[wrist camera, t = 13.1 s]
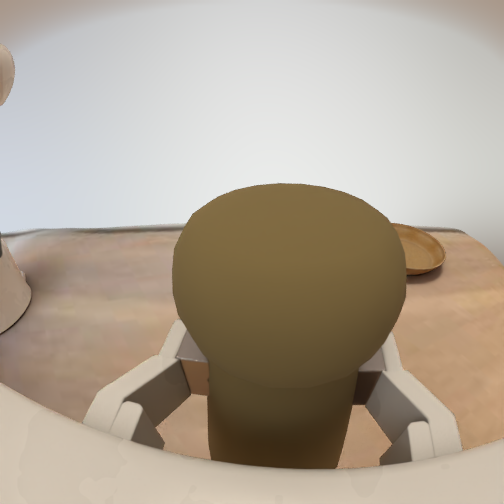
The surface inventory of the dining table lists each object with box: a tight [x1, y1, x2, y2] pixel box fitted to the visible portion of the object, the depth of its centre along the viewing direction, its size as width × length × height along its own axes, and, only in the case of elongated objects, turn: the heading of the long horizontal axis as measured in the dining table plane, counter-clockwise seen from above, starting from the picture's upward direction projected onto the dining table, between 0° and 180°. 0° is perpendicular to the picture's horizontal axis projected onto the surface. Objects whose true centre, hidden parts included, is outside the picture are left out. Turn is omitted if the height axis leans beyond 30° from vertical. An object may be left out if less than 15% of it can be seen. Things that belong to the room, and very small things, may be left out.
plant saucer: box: [391, 223, 446, 275], centre depth 44 cm, size 15×15×3 cm
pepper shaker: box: [172, 183, 407, 469], centre depth 9 cm, size 6×6×11 cm
